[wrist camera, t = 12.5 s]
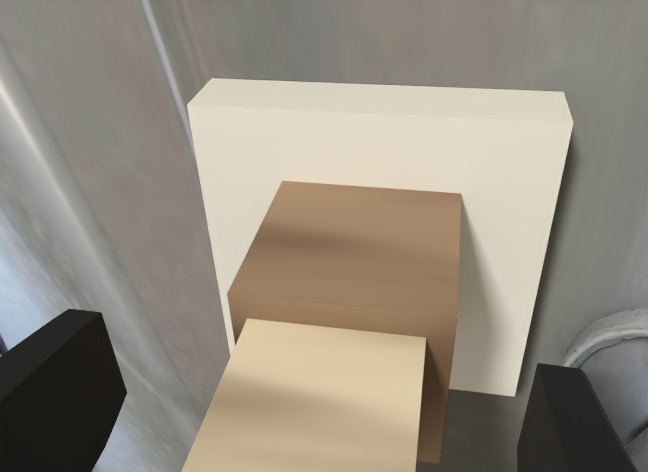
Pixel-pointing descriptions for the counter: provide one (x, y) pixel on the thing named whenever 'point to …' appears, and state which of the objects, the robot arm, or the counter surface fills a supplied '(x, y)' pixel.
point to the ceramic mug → (605, 332)
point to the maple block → (314, 402)
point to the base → (399, 184)
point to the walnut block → (361, 274)
